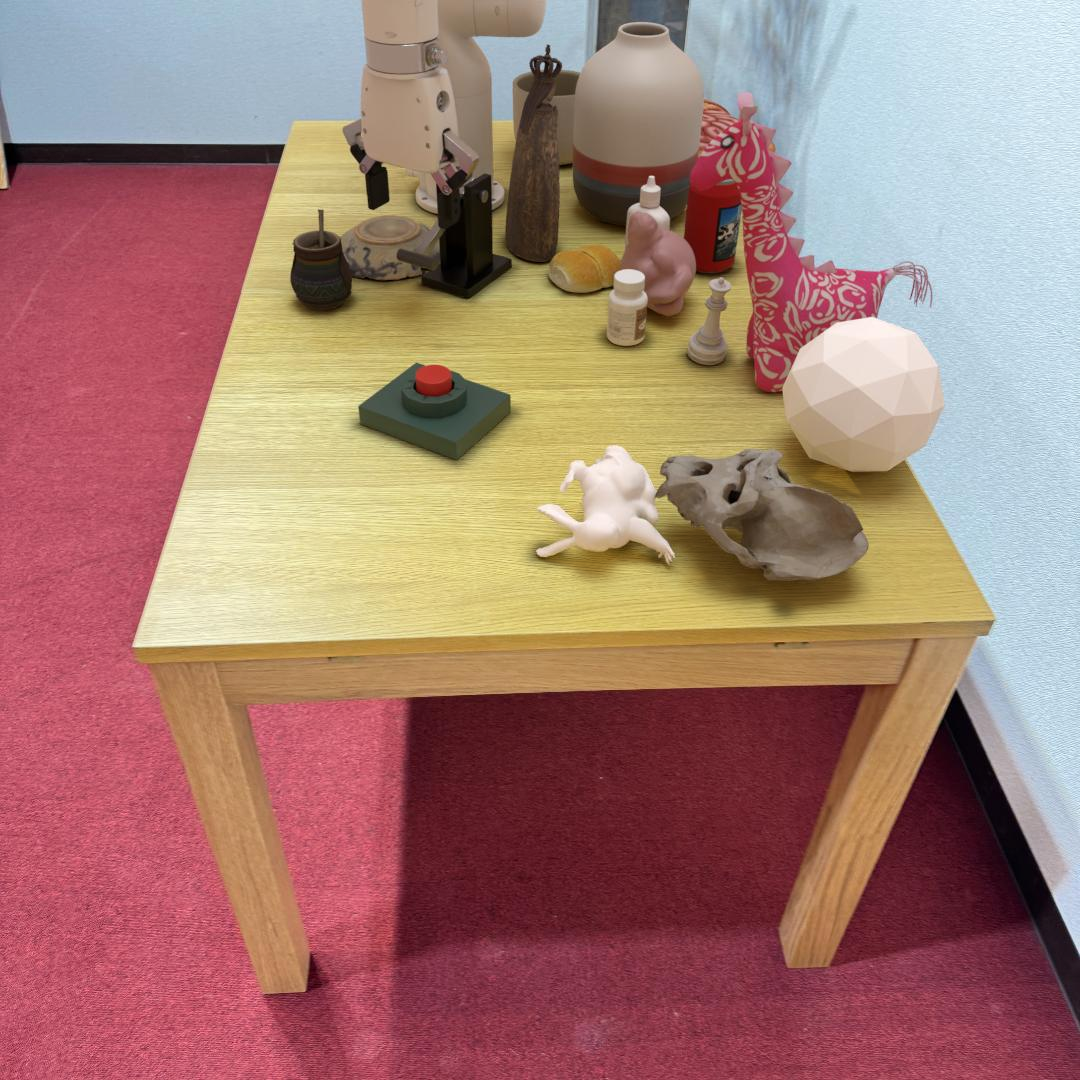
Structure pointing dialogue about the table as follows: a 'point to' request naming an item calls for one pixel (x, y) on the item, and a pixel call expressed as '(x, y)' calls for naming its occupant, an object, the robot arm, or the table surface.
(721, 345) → the chess piece
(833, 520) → the skull
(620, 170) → the vase
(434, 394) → the button
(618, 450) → the rabbit figurine
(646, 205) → the eye dropper bottle
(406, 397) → the block
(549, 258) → the statue
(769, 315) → the toy
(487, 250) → the lever bracket
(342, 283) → the mate gourd
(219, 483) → the table surface
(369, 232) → the decorative bowl
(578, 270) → the bread roll
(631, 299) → the pill bottle
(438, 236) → the lever
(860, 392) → the geometric shape
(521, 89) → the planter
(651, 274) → the figurine
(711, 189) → the beverage can
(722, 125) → the anatomical model
